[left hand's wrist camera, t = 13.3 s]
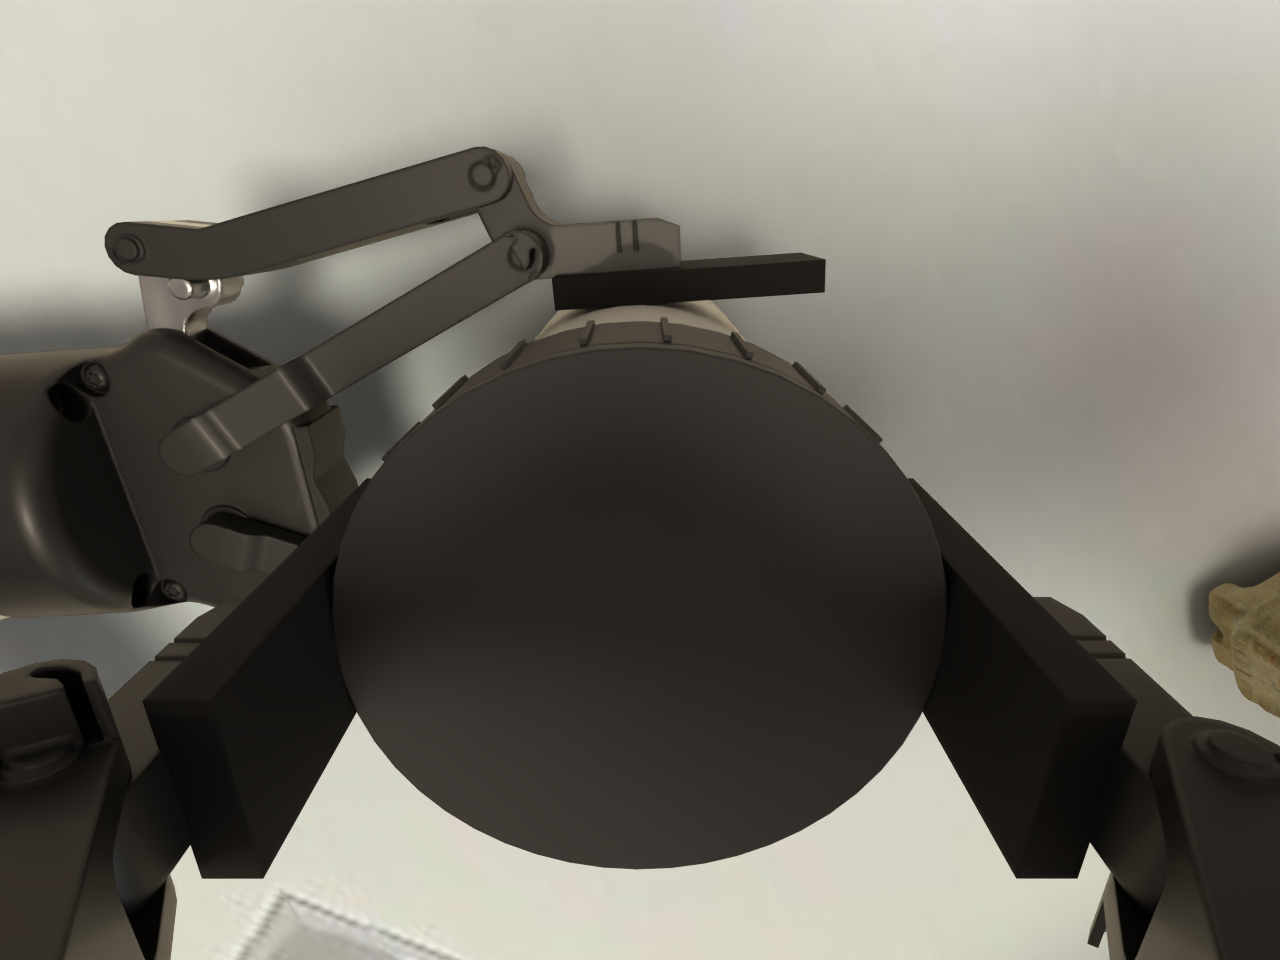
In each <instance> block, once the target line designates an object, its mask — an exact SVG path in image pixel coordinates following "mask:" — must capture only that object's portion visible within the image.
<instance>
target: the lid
mask: <svg viewBox="0 0 1280 960" xmlns="http://www.w3.org/2000/svg"><path fill="white" fill-rule="evenodd" d="M432 406H433V407H434V408H435V410H434V411H433V412H432V413H431V414H430V415H429V416H427V417H426V418H425V419H424V420H423V421H422V422H418V423H417V424H416V425H415V426H414V427H413V428H412V429H411V430H410V431H409V432H408V433H407V434H405V435H404V436H403V437H402V438H401V439H400V440H399V441H398V442H397V443H396V444H395V445H394V446H393V447H392V448H391V449H390V450H389V451H388V452H387V453H386V454H385V455H384V456H383V458H382V460H383V461H384V463H383V465H382V466H381V467H380V468H379V470H378V471H377V472H376V473H375V475H374V476H373V477H372V479H371V481H370V483H369V484H368V486H367V488H366V490H365V491H364V493H363V495H362V496H361V498H360V500H359V502H358V503H357V505H356V507H355V509H354V511H353V513H352V516H351V519H350V521H349V524H348V526H347V529H346V532H345V534H344V537H343V539H342V542H341V545H340V550H339V554H338V559H337V564H336V569H335V574H334V578H333V596H332V623H333V632H334V637H335V643H336V649H337V653H338V658H339V663H340V667H341V672H342V676H343V680H344V683H345V685H346V688H347V690H348V692H349V695H350V697H351V699H352V702H353V704H354V706H355V709H356V711H357V713H358V715H359V717H360V718H361V720H362V722H363V723H364V725H365V726H366V728H367V730H368V731H369V733H370V735H371V736H372V738H373V740H374V741H375V743H376V744H377V745H378V746H379V748H380V749H381V750H382V751H383V753H384V754H385V755H386V756H387V758H388V759H389V760H390V761H391V763H392V764H393V765H394V766H395V768H396V769H398V770H399V771H400V772H401V773H402V774H403V775H404V776H405V777H406V778H407V779H408V780H409V781H410V782H411V783H412V784H413V785H414V786H415V787H416V788H417V789H418V790H419V791H420V792H422V793H423V794H424V795H425V796H427V797H428V798H429V799H431V800H432V801H433V802H434V803H436V804H437V805H438V806H440V807H441V808H442V809H444V810H445V811H446V812H448V813H450V814H451V815H453V816H455V817H456V818H458V819H459V820H461V821H463V822H464V823H466V824H468V825H469V826H471V827H473V828H474V829H476V830H478V831H481V832H483V833H485V834H487V835H489V836H491V837H493V838H495V839H497V840H500V841H502V842H504V843H506V844H509V845H512V846H515V847H518V848H520V849H523V850H526V851H529V852H532V853H534V854H538V855H542V856H546V857H550V858H554V859H558V860H562V861H566V862H570V863H577V864H583V865H590V866H597V867H604V868H623V869H656V868H674V867H682V866H689V865H696V864H704V863H709V862H713V861H717V860H721V859H726V858H730V857H734V856H738V855H741V854H744V853H747V852H750V851H753V850H756V849H759V848H762V847H765V846H768V845H771V844H773V843H775V842H777V841H779V840H782V839H784V838H786V837H788V836H790V835H793V834H795V833H797V832H799V831H801V830H803V829H805V828H806V827H808V826H810V825H811V824H813V823H815V822H816V821H818V820H820V819H822V818H823V817H825V816H827V815H828V814H830V813H831V812H833V811H834V810H835V809H837V808H838V807H839V806H841V805H842V804H843V803H845V802H846V801H847V800H849V799H850V798H851V797H853V796H854V795H855V794H857V793H858V792H859V791H860V790H861V789H862V788H863V787H864V786H865V785H866V784H867V783H868V782H869V781H870V780H872V779H873V778H874V777H875V776H876V775H877V774H878V773H879V772H880V771H881V770H882V769H883V768H884V766H885V765H886V764H887V763H888V761H889V760H890V759H891V758H892V757H893V755H894V754H895V753H896V752H897V751H898V749H899V748H900V747H901V746H902V744H903V743H904V741H905V740H906V738H907V736H908V735H909V733H910V732H911V730H912V729H913V727H914V725H915V724H916V722H917V721H918V719H919V717H920V715H921V713H922V711H923V709H924V707H925V704H926V702H927V700H928V698H929V696H930V693H931V691H932V689H933V687H934V683H935V680H936V676H937V673H938V669H939V665H940V660H941V656H942V651H943V645H944V640H945V634H946V627H947V585H946V579H945V574H944V568H943V563H942V558H941V552H940V548H939V545H938V543H937V540H936V537H935V534H934V531H933V528H932V526H931V523H930V520H929V517H928V515H927V513H926V511H925V509H924V507H923V505H922V504H921V502H920V497H919V495H918V494H917V493H916V492H915V491H914V489H913V487H912V485H911V483H910V482H909V480H908V479H907V478H906V476H905V475H904V474H903V472H902V471H901V470H900V468H899V467H898V466H897V465H896V463H895V462H894V461H893V459H892V458H891V457H890V455H889V454H888V453H887V452H886V450H885V449H884V448H883V447H882V446H881V445H880V444H879V443H880V442H881V441H883V439H882V438H881V437H880V436H879V435H878V434H877V433H876V432H875V431H874V430H873V429H872V428H871V427H870V426H869V425H867V424H866V423H865V422H864V421H863V420H862V419H861V418H860V417H859V416H858V415H857V414H856V413H855V412H854V411H853V410H852V409H851V408H850V407H848V406H847V405H846V406H844V407H843V408H842V407H841V406H840V405H839V404H838V403H837V402H836V401H835V400H834V399H833V398H832V397H831V396H830V395H829V394H828V393H827V392H826V389H825V388H824V387H823V386H822V385H821V384H820V383H819V382H818V381H817V380H816V379H815V378H814V377H813V376H812V375H811V374H810V373H809V372H808V371H807V370H806V369H805V368H804V367H803V366H802V365H800V364H799V363H797V362H795V363H794V364H793V366H792V365H791V364H790V363H788V362H786V361H785V360H783V359H781V358H779V357H777V356H775V355H773V354H771V353H769V352H767V351H765V350H764V349H762V348H760V347H758V346H756V345H754V344H751V343H748V342H745V341H744V340H743V339H742V338H741V336H740V335H739V334H738V333H736V332H733V331H732V332H731V335H730V336H729V335H726V334H723V333H720V332H717V331H712V330H707V329H703V328H698V327H693V326H689V325H684V324H675V323H669V322H668V318H666V317H661V319H660V322H649V321H633V322H616V323H602V324H597V325H595V321H594V320H590V321H587V324H586V326H585V327H581V328H576V329H571V330H566V331H563V332H560V333H557V334H554V335H551V336H548V337H545V338H542V339H539V340H536V341H533V342H530V343H528V344H527V343H526V341H525V340H522V341H520V342H519V343H518V344H517V345H516V346H515V347H514V348H513V349H512V351H511V352H510V353H508V354H506V355H504V356H502V357H500V358H498V359H496V360H495V361H493V362H492V363H490V364H489V365H487V366H486V367H484V368H483V369H481V370H480V371H479V372H477V373H476V374H474V375H473V376H471V377H470V378H467V376H466V375H464V376H463V377H461V378H460V379H459V380H458V381H457V382H456V383H455V384H454V385H453V386H452V387H451V388H450V389H448V390H447V391H446V392H445V393H444V394H443V395H442V396H441V397H440V398H439V399H438V400H437V401H436V402H435V403H434V404H433V405H432Z"/></svg>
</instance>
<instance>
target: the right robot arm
mask: <svg viewBox="0 0 1280 960" xmlns="http://www.w3.org/2000/svg"><path fill="white" fill-rule="evenodd" d="M476 213H478V214H479V216H480V218H481V220H482V222H483V224H484V226H485V228H486V230H487V232H488V234H489V236H490V238H491V240H492V242H491V243H489V244H487V245H486V246H484V247H482V248H481V249H479V250H477V251H476V252H474V253H472V254H471V255H469V256H467V257H466V258H464V259H462V260H461V261H459V262H457V263H456V264H454V265H452V266H451V267H449V268H447V269H446V270H444V271H442V272H441V273H439V274H437V275H436V276H434V277H432V278H431V279H429V280H427V281H426V282H424V283H422V284H421V285H419V286H417V287H416V288H414V289H412V290H410V291H409V292H407V293H405V294H404V295H402V296H400V297H399V298H397V299H395V300H394V301H392V302H390V303H389V304H387V305H385V306H384V307H382V308H380V309H379V310H377V311H375V312H374V313H372V314H370V315H369V316H367V317H365V318H364V319H362V320H360V321H359V322H357V323H355V324H354V325H352V326H350V327H349V328H347V329H345V330H344V331H342V332H340V333H339V334H337V335H335V336H334V337H332V338H330V339H329V340H327V341H325V342H324V343H322V344H320V345H318V346H317V347H315V348H313V349H312V350H310V351H308V352H307V353H305V354H303V355H302V356H300V357H298V358H296V359H294V360H292V361H290V362H288V363H287V364H285V365H283V366H281V367H280V366H278V365H276V364H274V363H273V362H271V361H269V360H267V359H265V358H264V357H262V356H260V355H258V354H256V353H255V352H253V351H251V350H249V349H247V348H245V347H244V346H242V345H240V344H238V343H236V342H235V341H233V340H231V339H229V338H227V337H226V336H224V335H222V334H220V333H218V332H217V331H215V330H213V329H211V328H209V327H207V317H208V314H209V312H210V311H211V310H212V309H213V308H214V307H216V306H219V305H224V304H228V303H231V302H233V301H235V300H236V299H237V297H238V296H239V294H240V292H241V287H242V286H243V284H244V278H243V276H244V275H250V274H256V273H262V272H268V271H274V270H278V269H283V268H287V267H291V266H295V265H298V264H302V263H305V262H309V261H312V260H316V259H319V258H323V257H326V256H330V255H333V254H337V253H340V252H344V251H347V250H351V249H354V248H358V247H361V246H365V245H368V244H372V243H375V242H379V241H382V240H386V239H389V238H392V237H396V236H399V235H403V234H406V233H410V232H413V231H417V230H420V229H424V228H427V227H431V226H434V225H438V224H441V223H445V222H448V221H452V220H455V219H459V218H462V217H466V216H469V215H473V214H476ZM105 248H106V251H107V254H108V256H109V258H110V259H111V260H112V262H113V263H114V264H115V265H116V266H117V267H118V268H120V269H121V270H123V271H124V272H126V273H130V274H133V275H138V276H139V282H140V287H141V293H142V299H143V305H144V311H145V316H146V322H147V328H148V330H147V331H144V332H142V333H140V334H138V335H137V336H135V337H134V338H133V339H132V340H130V341H129V342H128V343H127V344H125V345H124V346H121V347H107V348H92V349H77V350H62V351H48V352H33V353H18V354H4V355H0V620H2V619H5V618H9V617H16V618H32V617H51V616H68V615H86V614H104V613H121V612H133V611H140V610H146V609H152V608H156V607H161V606H166V605H171V604H176V603H182V602H196V603H202V604H206V605H209V606H213V607H217V606H219V605H221V604H222V603H224V602H226V601H228V600H230V599H245V598H246V597H247V596H248V595H249V594H250V593H252V592H253V591H254V590H255V589H256V588H257V587H258V586H259V585H260V584H261V583H262V582H263V581H264V580H265V579H266V578H267V577H268V576H269V575H270V574H271V573H272V572H273V571H274V570H275V569H276V568H277V567H278V566H279V565H280V564H281V563H282V562H283V561H284V560H285V559H286V558H287V557H288V556H289V555H290V554H291V553H292V552H293V551H294V550H295V549H296V548H297V547H298V546H299V545H300V544H301V543H302V542H303V541H304V540H305V539H306V538H307V537H308V536H309V535H310V534H311V533H312V532H313V531H314V530H315V529H316V528H317V527H318V526H319V525H320V524H321V523H322V522H323V521H324V520H325V519H326V518H327V517H328V516H329V515H330V514H331V513H332V512H333V511H334V510H335V509H336V508H337V507H338V506H339V505H340V504H341V503H342V502H343V501H344V500H346V499H347V498H348V497H349V496H350V495H351V494H352V493H353V492H354V491H355V490H356V489H357V488H358V484H357V480H356V478H355V476H354V474H353V473H352V471H351V469H350V467H349V465H348V463H347V461H346V459H345V457H344V433H345V430H344V426H343V422H342V417H341V413H340V409H339V406H330V404H329V403H328V401H327V399H328V398H330V397H332V396H333V395H335V394H337V393H339V392H340V391H342V390H344V389H345V388H347V387H349V386H351V385H352V384H354V383H356V382H358V381H359V380H361V379H363V378H364V377H366V376H368V375H370V374H371V373H373V372H375V371H377V370H378V369H380V368H382V367H383V366H385V365H387V364H389V363H390V362H392V361H394V360H396V359H397V358H399V357H401V356H402V355H404V354H406V353H408V352H409V351H411V350H413V349H415V348H416V347H418V346H420V345H421V344H423V343H425V342H427V341H428V340H430V339H432V338H434V337H435V336H437V335H439V334H440V333H442V332H444V331H446V330H447V329H449V328H451V327H453V326H454V325H456V324H458V323H459V322H461V321H463V320H465V319H466V318H468V317H470V316H472V315H473V314H475V313H477V312H478V311H480V310H482V309H484V308H485V307H487V306H489V305H491V304H492V303H494V302H496V301H497V300H499V299H501V298H503V297H504V296H506V295H508V294H510V293H511V292H513V291H515V290H516V289H518V288H520V287H522V286H523V285H525V284H527V283H529V282H531V281H532V280H534V279H546V278H552V285H553V294H554V303H555V311H558V310H573V309H587V308H602V307H617V306H631V305H646V304H660V303H675V302H690V301H704V300H719V299H733V298H748V297H763V296H777V295H792V294H807V293H821V292H825V264H826V260H825V259H822V258H818V257H814V256H811V255H807V254H803V253H789V254H775V255H761V256H747V257H732V258H718V259H704V260H689V261H681V250H680V226H679V225H676V224H673V223H670V222H668V221H665V220H662V219H659V218H648V219H634V220H620V221H606V222H592V223H578V224H560V223H557V222H554V221H552V220H550V219H549V218H547V217H546V216H545V215H544V214H543V213H542V212H541V210H540V209H539V207H538V206H537V204H536V202H535V199H534V197H533V195H532V193H531V191H530V189H529V186H528V184H527V182H526V179H525V173H524V171H523V169H522V167H521V165H520V164H519V163H518V162H517V161H516V160H515V159H514V158H512V157H510V156H508V155H506V154H503V153H501V152H498V151H496V150H494V149H490V148H487V147H474V148H470V149H467V150H464V151H460V152H457V153H453V154H450V155H447V156H443V157H440V158H437V159H433V160H430V161H426V162H423V163H420V164H416V165H413V166H410V167H406V168H403V169H400V170H396V171H393V172H389V173H386V174H383V175H379V176H376V177H373V178H369V179H366V180H362V181H359V182H356V183H352V184H349V185H346V186H342V187H339V188H335V189H332V190H329V191H325V192H322V193H319V194H315V195H312V196H308V197H305V198H302V199H298V200H295V201H292V202H288V203H285V204H282V205H278V206H275V207H271V208H268V209H265V210H261V211H258V212H255V213H251V214H248V215H244V216H241V217H238V218H234V219H231V220H228V221H224V222H221V223H211V222H201V221H191V220H184V221H144V222H121V223H116V224H114V225H113V226H111V227H110V228H109V229H108V231H107V233H106V235H105Z"/></svg>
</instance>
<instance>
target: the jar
mask: <svg viewBox="0 0 1280 960" xmlns="http://www.w3.org/2000/svg"><path fill="white" fill-rule="evenodd" d="M661 317H666V318H668V322H669V323H675V324H684V325H689V326H693V327H698V328H703V329H707V330H712V331H717V332H720V333H723V334H726V335H729V336H730V335H731V332H732V331H733V332H736V333H738V334H739V335H740V336H741V338H742V339H743V340H744V341H745V342H747V341H746V340H745V339H744V338H743V336H742V335H741V334H740V333H739V331H738V330H737V329H736V328H735V326H734V325H733V324H732V323H731V321H730V320H729V319H728V318H727V316H726V315H725V314H724V313H723V311H722V310H721V309H720V308H719V307H717V306H716V305H715V304H714V303H713V302H712V301H711V300H704V301H690V302H675V303H660V304H646V305H631V306H617V307H602V308H587V309H573V310H558V311H557V312H556V314H555V315H554V316H553V317H552V319H551V320H550V321H549V322H548V323H547V325H546V326H545V327H544V328H543V330H542V331H541V332H540V333H539V335H538V336H537V337H536V338H535V340H534V341H536V340H539V339H542V338H545V337H548V336H551V335H554V334H557V333H560V332H563V331H566V330H571V329H576V328H581V327H585V326H586V324H587V321H590V320H594V321H595V325H597V324H602V323H616V322H633V321H649V322H660V319H661Z"/></svg>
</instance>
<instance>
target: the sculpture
mask: <svg viewBox="0 0 1280 960" xmlns="http://www.w3.org/2000/svg"><path fill="white" fill-rule="evenodd" d="M1209 616H1210V619H1211V621H1212V622H1213V623H1214V624H1215V625H1216V626H1217V627H1218V630H1217V631H1216V632H1215V633H1214V634H1213V636H1212V647H1213V650H1214V653H1215V656H1216V659H1217V660H1218V661H1219V662H1220V663H1222V664H1223V665H1225V666H1227V667H1228V668H1230V669H1231V670H1233V671H1234V674H1235V678H1236V682H1237V684H1238V687H1239V689H1240V691H1241V693H1242V694H1243V695H1244V697H1246V698H1247V699H1248V700H1250V701H1252V702H1254V703H1257V704H1259V705H1260V706H1261V707H1262V708H1263V709H1264V710H1265V711H1267V712H1269V713H1271V714H1273V715H1275V716H1277V717H1279V718H1280V572H1279V573H1277V574H1275V575H1274V576H1272V577H1271V578H1269V579H1267V580H1265V581H1264V582H1262V583H1261V584H1259V585H1256V586H1253V587H1247V588H1242V587H1239V586H1237V585H1235V584H1232V583H1225V584H1222V585H1219V586H1217V587H1216V588H1214V589H1213V590H1212V591H1211V592H1210V593H1209Z"/></svg>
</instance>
